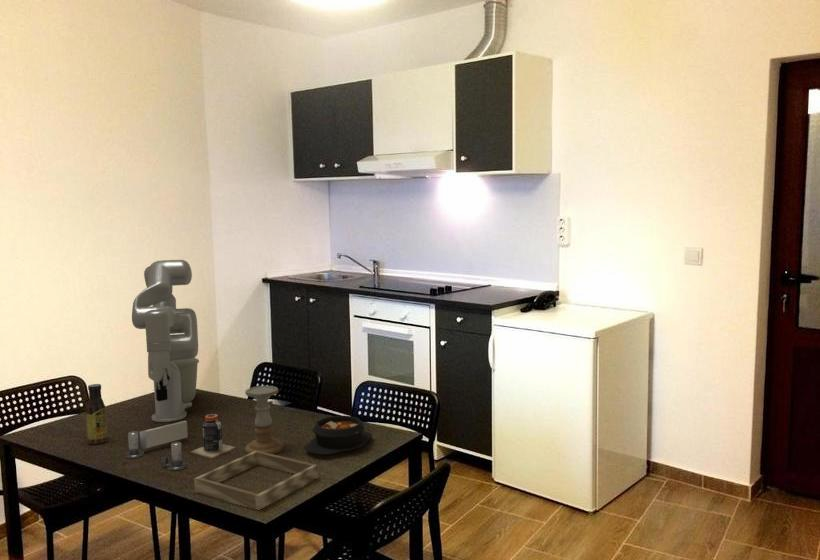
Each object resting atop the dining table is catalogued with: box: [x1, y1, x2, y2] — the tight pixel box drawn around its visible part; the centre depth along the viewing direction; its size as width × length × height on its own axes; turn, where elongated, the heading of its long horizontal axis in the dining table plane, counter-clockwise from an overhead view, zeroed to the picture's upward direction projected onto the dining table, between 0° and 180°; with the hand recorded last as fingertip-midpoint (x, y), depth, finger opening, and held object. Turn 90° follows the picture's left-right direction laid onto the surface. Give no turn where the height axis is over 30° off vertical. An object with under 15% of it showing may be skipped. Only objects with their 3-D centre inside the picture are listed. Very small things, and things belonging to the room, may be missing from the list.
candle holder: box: [244, 385, 284, 455], centre depth 223 cm, size 12×12×20 cm
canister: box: [172, 357, 200, 403], centre depth 279 cm, size 18×18×21 cm
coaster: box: [190, 443, 237, 460], centre depth 224 cm, size 10×10×1 cm
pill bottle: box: [202, 413, 223, 452], centre depth 223 cm, size 6×6×11 cm
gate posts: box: [124, 430, 188, 472], centre depth 216 cm, size 26×6×8 cm, turn 59°
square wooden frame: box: [193, 451, 319, 511], centre depth 196 cm, size 24×24×4 cm
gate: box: [139, 420, 189, 450], centre depth 228 cm, size 16×2×6 cm, turn 134°
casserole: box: [303, 415, 373, 456], centre depth 225 cm, size 25×19×8 cm
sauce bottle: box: [85, 383, 108, 445], centre depth 233 cm, size 7×6×20 cm
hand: (162, 399), depth 231 cm, fingers closed
